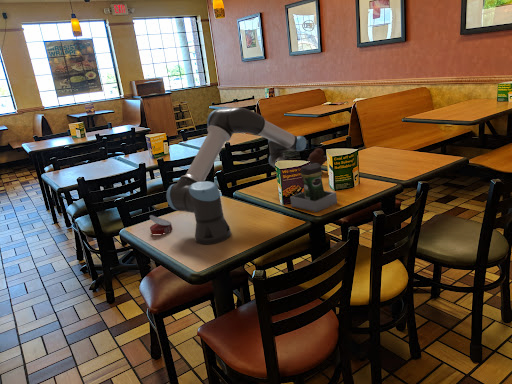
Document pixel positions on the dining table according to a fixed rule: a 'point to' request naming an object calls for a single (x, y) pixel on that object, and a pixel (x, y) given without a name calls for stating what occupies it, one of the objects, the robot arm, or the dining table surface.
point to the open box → (311, 205)
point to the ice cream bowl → (317, 157)
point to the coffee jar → (312, 181)
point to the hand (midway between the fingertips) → (301, 171)
